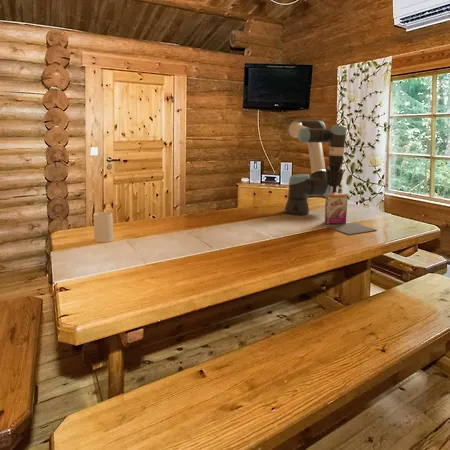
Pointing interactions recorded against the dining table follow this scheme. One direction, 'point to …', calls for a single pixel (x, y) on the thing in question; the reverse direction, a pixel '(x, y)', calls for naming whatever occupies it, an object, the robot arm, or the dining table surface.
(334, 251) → the dining table surface
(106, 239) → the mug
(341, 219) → the candy bar box
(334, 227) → the rubber mat
